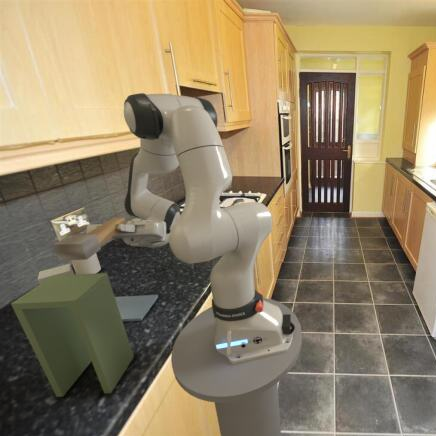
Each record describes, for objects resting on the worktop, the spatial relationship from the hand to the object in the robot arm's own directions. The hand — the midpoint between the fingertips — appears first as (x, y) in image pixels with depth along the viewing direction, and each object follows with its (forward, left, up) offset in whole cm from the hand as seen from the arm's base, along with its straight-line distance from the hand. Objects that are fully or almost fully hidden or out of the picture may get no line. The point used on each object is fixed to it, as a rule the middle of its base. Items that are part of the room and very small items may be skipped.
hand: (109, 227), depth 72 cm
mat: (+7, -6, -32) cm, 33 cm away
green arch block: (0, +19, -32) cm, 37 cm away
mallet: (0, +5, -2) cm, 5 cm away
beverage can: (+35, -31, -32) cm, 57 cm away
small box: (+29, -11, -32) cm, 45 cm away
